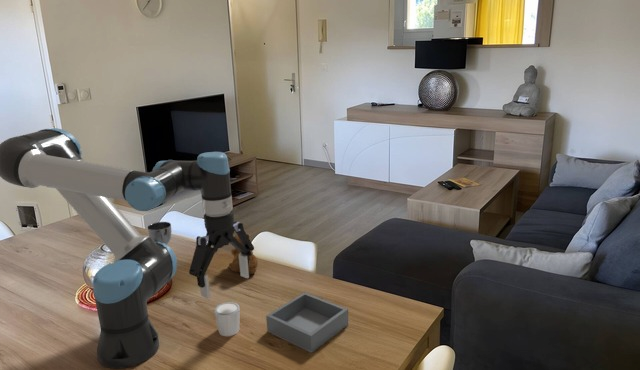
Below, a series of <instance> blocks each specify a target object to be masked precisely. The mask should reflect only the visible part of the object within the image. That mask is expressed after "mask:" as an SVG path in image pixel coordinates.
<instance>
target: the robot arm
mask: <svg viewBox="0 0 640 370" xmlns="http://www.w3.org/2000/svg"><path fill="white" fill-rule="evenodd" d="M81 148H82V147H81V144H80V142H79V140H78V139H77V138H76V137H75V136H74V135H73V134H72V133H70V132H69V131H67V130H64V129H62V128H54V127H53V128H44V129H40V130H38V131H35V132H31V133H26V134H21V135H17V136H14V137H10V138H7V139H5V140H4V141H3V142H0V178H1V179H2V180H4V181H5V182H8V183H9V184H12V185H14V186H19V187H23V188H24V187H25V188H30V189H35V188H38V187H41V186H42V187H45V188H51V189H56V190H57V192H58V193H59V194H60V195H61V196H62V197H63V198H64V199H65V201H67V203H68V204H69V205H70V206H71V207H72V208H73V210H74V211H75V213H77V214H78V215H79V216H80V218H81V219H82V220H83V221H84V222H85V223H86V225H88V227H89V228H90V229H91V231H92V232H93V233H95V235H96V236H97V237H98V238H99V239H100V241H101V242H103V244H104V245H105V246H106V247H107V248H108V249H109V250H110V252H111V253H112V255H114V261H113V263H111V262H110V263H108V264H105V265H104V266H102V267H101V268H100V269H98V271H97V272H96V273H95V275H94V276H93V280H92V286H93V288H92V289H93V290H92V292H93V296H94V302H95V306H96V311H97V316H98V323H99V327H100V333H99V339H98V342H97V343H98V344H97V347H96V354H97V359H98V362H99V363H100V365H102V366H103V367H105V368H110V369H124V368H129V367H134V366H137V365H139V364H142V363H144V362H146V361H148V360H149V359H151V358H152V357H153V356H154V355H155V354H156V353H157V352H158V350H159V348H160V339H159V334H158V332H157V331H156V329H155V327H154V325H153V324H152V322H151V320H150V318H149V312H148V305H147V304H148V303H147V302H148V301H150V300H151V298H152V297H154V296H155V295H156V294H157V293H158V292H159V291H160V290H161V289H162V288H163V287H164V286H166V285H168V283H169V282H170V281H171V279H173V277H174V276H175V274H176V272H177V270H178V260H177V256H176V254H175V252H174V250H173V249H172V248H171V247H170V246H169V245H168V244H167V245H166V244H165V243H161V242H154V241H153V240H152V239H151V238H150V237H149V235H145V234H144V235H142V234H141V233H140V232H139V231H138V230H137V229H136V228H135V227H134V226H133V224H132V223H131V222H130V221H129V220H128V219H127V218H126V217H125V215H124V214H123V213H122V212H121V210H119V208H118V207H117V206H116V205H115V204H114V202H113V201H112V200H111V199H113V200H117V201H118V200H119V201H123V202H127V204H128V205H129V206H130V207H132V209H134V210H136V211H138V212H147V211H150V210H151V209H155V208H157V207H159V206H160V205H161V204H162V203H164V202H166V201H167V200H168V199H170V198H171V197H173V196H176V195H178V193H181V192H182V191H200V194H201V203H202V213H204V214H203V222H204V228H205V230H206V235H204V236H199V235H198V236H196V238H195V240H196V242H195V249H194V253H193V257H192V259H191V262H190V263H191V264H190V268H189V271H188V274H189V275H190V276H193V277H195V278H196V280H197V281H196V282H197V286H198V287H199V288H200V294H201V296H202V297H203V298H205V299H210V298H211V293H210V292H211V291H210V281H209V274H208V273H207V270H208V268H209V266H210V264H211V262H212V260H213V258H214V256H215V253H217V252H218V250H219V249H221V248H223V247H224V246H229V245H232V246H233V247H234V248H235V249H237V250H238V251H240V252H241V253H242V254H239V265H240V272H239V273H240V277H243V278H245V279H249V278H250V274H249V271H248V265H249V256H250V255H251V254H252V253H251V252H250V251H255V246H254V245H253V243H252V241H251V240H250V237H249V238H248V236H247V234H248V233H247V232H246V231H245V230H244V224H243V223H242V222H240V221H235V216H234V211H233V209H234V207H233V197H232V188H231V187H232V186H231V175H230V174H231V173H230V171H231V169H230V165H229V159H228V156H227V154H226V153H224V152H223V151H209V152H203V153H200V154H199V155H198V156H197V160H173V159H168V160H160V161H158V162H157V161H156V164H155V166H153V168H152V170H151V171H150V172H149V171H139V170H134V169H128V168H122V167H118V166H112V165H105V164H99V163H94V162H88V161H84V159H83V158H82V150H81ZM234 233H235V234H237V235H238V237H239V238H240V240H241V242H242V243H243V245H244V246H243V245H242V244H241V243H240V242H238V241H237V239H236V238H235V235H234Z"/></svg>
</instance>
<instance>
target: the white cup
mask: <svg viewBox="0 0 640 370" xmlns="http://www.w3.org/2000/svg"><path fill="white" fill-rule="evenodd" d="M240 308H241V307H240V305H239V304H238V303H237V302H232V301H231V302H229V301H228V302H222V303H219V304H218V305H217V306H215V308H214V311H213V312H214V315H215V320H216V325H217V330H218V334H219V335H220V336H222V337H233V336H234V335H237V334H238V332H239V331H240V314H241V313H240V311H241V310H240Z"/></svg>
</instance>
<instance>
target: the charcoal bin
mask: <svg viewBox="0 0 640 370" xmlns="http://www.w3.org/2000/svg"><path fill="white" fill-rule="evenodd" d="M265 317H266V329H267V331H266V332H267V333H269V334H272V335H273V336H276V337H278V338H280V339H282V340H285V341H286V342H288V343H290V344H292V345H295V346H296V347H299V348H300V349H303V350H305V351H307V352H309V353H311V354H312V353H313V352H315V351H317V350H318V349H319V348H320V347H321V346H323V345H324V344H325V343H326V342H328V341H329V340H330V339H333V337H334V336H336V335H338V333H340V332H341V331H342V330H343V328H344V329H345V328H346V327H348V326H349V308H346V307H344V306H341V305H339V304H337V303H334V302H331V301H328V300H326V299H323V298H320V297H319V296H315V295H313V294H310V293H307V292H305V291H304V292H303V293H301V294H299V295H297V296H296V297H294V298H293V299H291V300H289V301H288V302H286V303H285V304H283V305H281V306H279V307H278V308H276V309H274V310H273V311H271V312H269V313H268V314H266V315H265ZM347 325H348V326H347Z"/></svg>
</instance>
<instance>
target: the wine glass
mask: <svg viewBox="0 0 640 370" xmlns="http://www.w3.org/2000/svg"><path fill="white" fill-rule="evenodd" d="M147 233H148V236H149V237H150V238H151V239H152V240H153V241H154V242H161V243H165V244H166V245H168V244H169V242H170V241H171V240H172V239H171V238H172V225H171V222H169V221H158V222H153V223H151V224H149V225H147Z"/></svg>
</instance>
